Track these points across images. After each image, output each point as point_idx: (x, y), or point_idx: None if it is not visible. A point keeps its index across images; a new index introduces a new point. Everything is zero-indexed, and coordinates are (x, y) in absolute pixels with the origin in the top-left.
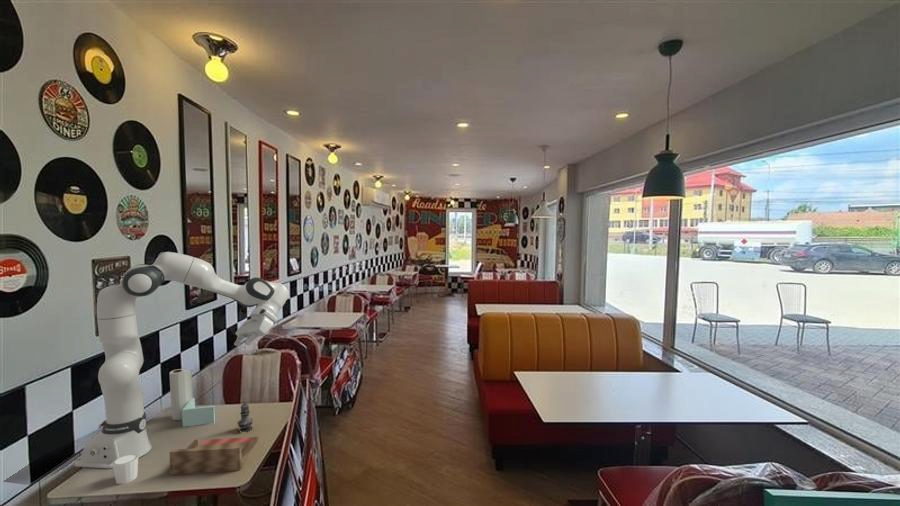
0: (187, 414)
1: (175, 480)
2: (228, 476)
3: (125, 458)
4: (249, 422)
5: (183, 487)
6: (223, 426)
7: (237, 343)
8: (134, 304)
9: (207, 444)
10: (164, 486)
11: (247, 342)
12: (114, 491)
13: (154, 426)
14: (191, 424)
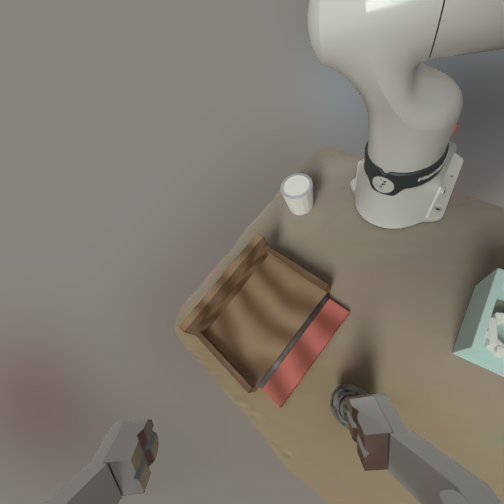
0: (486, 285)
1: None
2: None
3: (299, 185)
4: (334, 411)
5: (222, 261)
6: (412, 366)
7: (353, 419)
8: None
9: (313, 307)
10: (243, 242)
11: (114, 431)
12: (278, 196)
13: None
14: (470, 301)
